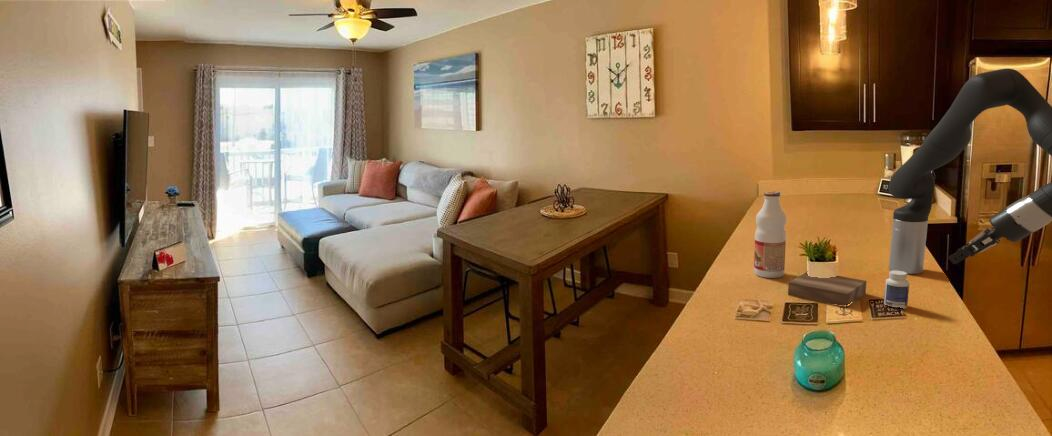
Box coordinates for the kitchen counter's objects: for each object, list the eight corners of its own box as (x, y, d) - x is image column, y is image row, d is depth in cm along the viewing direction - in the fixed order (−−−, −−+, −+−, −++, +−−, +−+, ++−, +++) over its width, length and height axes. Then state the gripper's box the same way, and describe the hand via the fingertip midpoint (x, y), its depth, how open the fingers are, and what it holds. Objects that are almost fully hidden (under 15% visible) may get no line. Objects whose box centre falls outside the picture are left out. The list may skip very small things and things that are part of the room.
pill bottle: (911, 310, 145) (914, 275, 143) (888, 309, 146) (891, 275, 144) (901, 302, 150) (904, 269, 148) (880, 302, 151) (883, 269, 149)
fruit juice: (777, 280, 174) (781, 195, 168) (748, 275, 180) (751, 193, 175) (788, 273, 180) (792, 191, 174) (760, 268, 187) (763, 189, 181)
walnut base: (808, 282, 170) (809, 270, 169) (865, 293, 158) (866, 280, 158) (787, 294, 161) (788, 282, 160) (846, 307, 149) (847, 294, 148)
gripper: (1013, 201, 131) (950, 240, 142) (1002, 210, 122) (936, 251, 133) (1040, 225, 128) (973, 263, 139) (1031, 236, 119) (960, 276, 130)
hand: (955, 257), depth 136 cm, fingers open, 8 cm apart
